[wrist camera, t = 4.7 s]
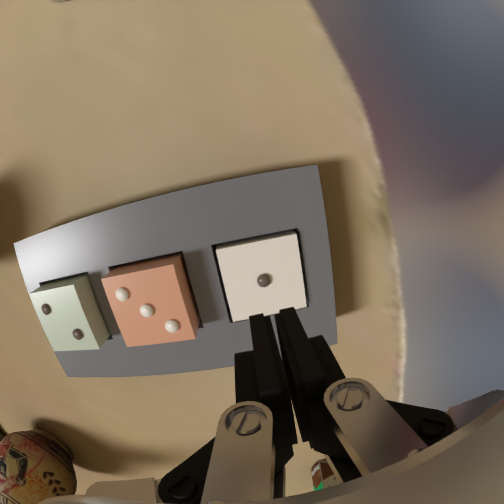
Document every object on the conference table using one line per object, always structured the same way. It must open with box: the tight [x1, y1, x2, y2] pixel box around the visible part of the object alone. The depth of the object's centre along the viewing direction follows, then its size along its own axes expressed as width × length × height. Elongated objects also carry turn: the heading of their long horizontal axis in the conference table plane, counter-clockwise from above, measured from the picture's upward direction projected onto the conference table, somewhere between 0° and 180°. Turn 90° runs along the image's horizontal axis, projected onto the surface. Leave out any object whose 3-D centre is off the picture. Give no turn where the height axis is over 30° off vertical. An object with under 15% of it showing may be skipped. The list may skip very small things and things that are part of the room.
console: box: [14, 165, 337, 377], centre depth 21 cm, size 14×26×4 cm, turn 101°
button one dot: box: [216, 229, 307, 322], centre depth 20 cm, size 5×5×4 cm
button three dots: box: [101, 251, 201, 347], centre depth 19 cm, size 5×5×4 cm
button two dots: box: [29, 272, 111, 351], centre depth 19 cm, size 5×5×4 cm
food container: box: [312, 460, 340, 491], centre depth 28 cm, size 12×6×10 cm, turn 61°
